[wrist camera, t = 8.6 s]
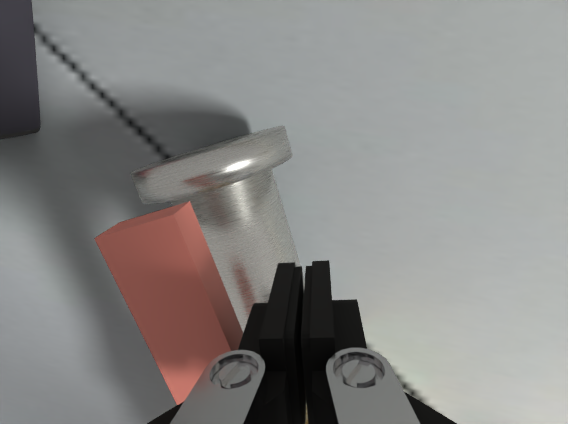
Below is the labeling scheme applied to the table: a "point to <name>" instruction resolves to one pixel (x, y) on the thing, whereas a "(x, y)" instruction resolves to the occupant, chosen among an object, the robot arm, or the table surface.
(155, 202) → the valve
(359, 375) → the robot arm
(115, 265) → the lever
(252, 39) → the table surface
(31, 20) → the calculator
